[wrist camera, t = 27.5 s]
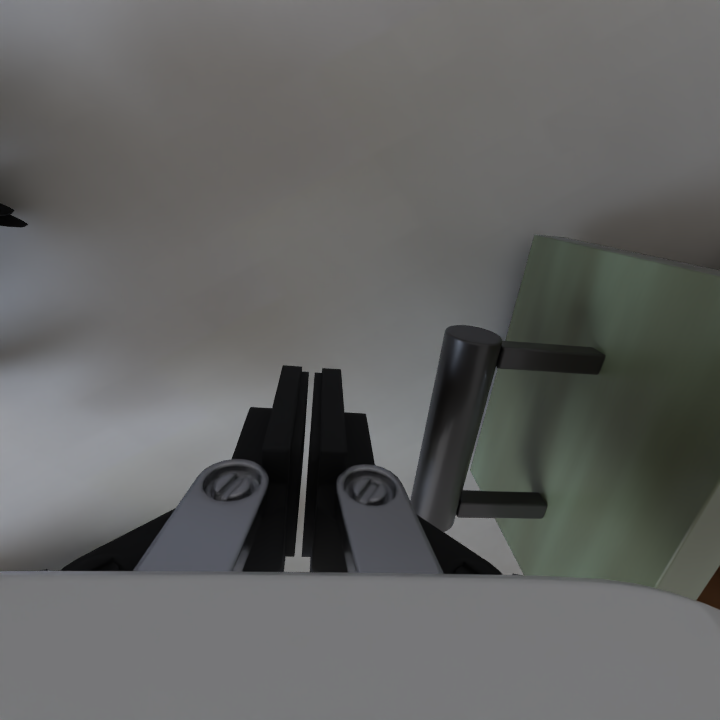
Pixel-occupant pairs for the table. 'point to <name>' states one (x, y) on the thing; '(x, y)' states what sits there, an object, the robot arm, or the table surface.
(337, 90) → the table surface
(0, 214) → the figurine
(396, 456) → the table surface
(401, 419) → the table surface
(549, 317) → the drawer
